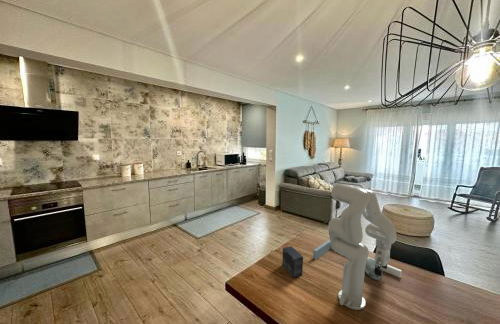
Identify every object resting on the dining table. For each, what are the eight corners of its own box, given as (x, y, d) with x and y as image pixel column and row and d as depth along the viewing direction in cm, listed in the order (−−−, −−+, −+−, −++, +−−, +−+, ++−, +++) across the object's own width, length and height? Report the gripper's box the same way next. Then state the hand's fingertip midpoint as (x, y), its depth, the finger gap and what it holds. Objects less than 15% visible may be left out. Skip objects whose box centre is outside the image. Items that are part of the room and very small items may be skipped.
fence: (389, 295, 111) (390, 285, 110) (313, 258, 144) (313, 250, 143) (401, 276, 126) (402, 267, 125) (329, 246, 159) (330, 238, 159)
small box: (302, 275, 127) (303, 256, 125) (293, 278, 124) (293, 259, 123) (290, 262, 139) (291, 245, 137) (281, 265, 136) (282, 247, 135)
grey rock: (388, 279, 118) (379, 261, 121) (371, 284, 120) (362, 266, 123) (382, 270, 131) (373, 254, 133) (367, 275, 133) (359, 259, 136)
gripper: (385, 251, 112) (382, 281, 114) (395, 241, 123) (392, 268, 125) (370, 246, 117) (367, 274, 120) (381, 236, 129) (378, 262, 131)
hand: (380, 271), depth 122 cm, fingers open, 9 cm apart
